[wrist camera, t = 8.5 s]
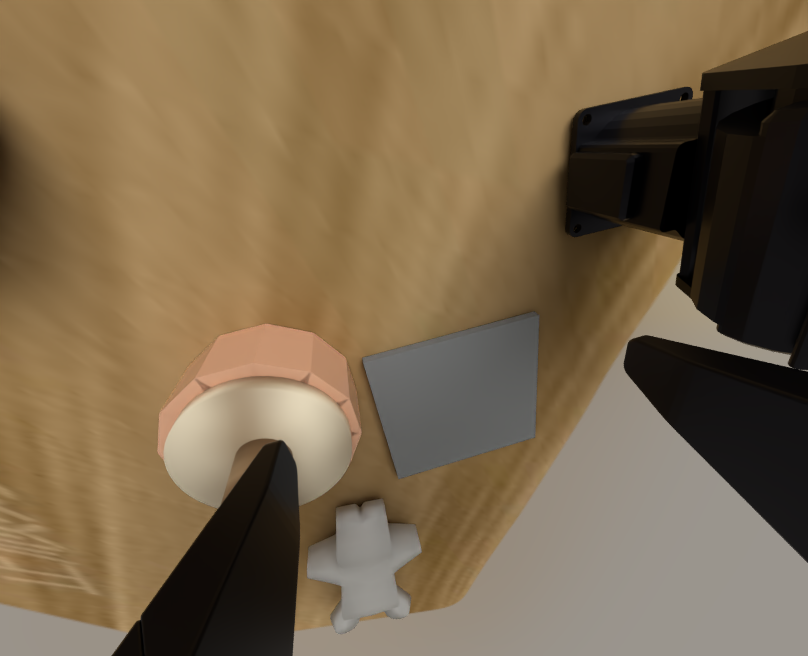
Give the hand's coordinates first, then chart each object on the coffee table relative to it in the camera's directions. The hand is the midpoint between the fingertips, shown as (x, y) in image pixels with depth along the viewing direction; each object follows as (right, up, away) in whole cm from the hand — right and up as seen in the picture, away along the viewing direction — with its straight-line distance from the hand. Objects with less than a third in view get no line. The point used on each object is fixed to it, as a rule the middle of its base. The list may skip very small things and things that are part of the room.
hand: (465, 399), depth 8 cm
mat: (+3, -4, +17) cm, 17 cm away
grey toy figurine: (-5, -18, +23) cm, 30 cm away
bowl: (-10, -3, +13) cm, 17 cm away
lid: (-9, -4, +10) cm, 14 cm away
